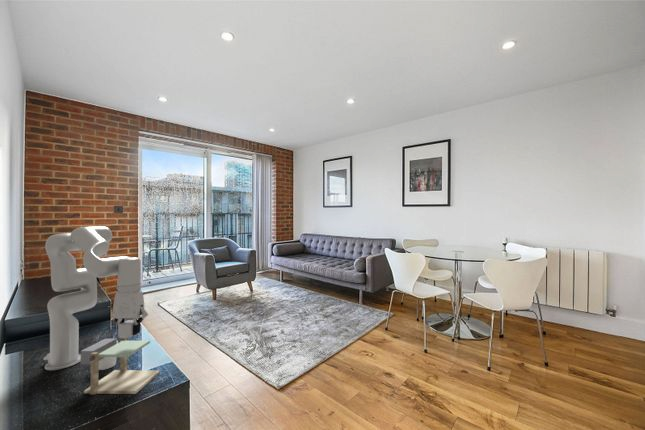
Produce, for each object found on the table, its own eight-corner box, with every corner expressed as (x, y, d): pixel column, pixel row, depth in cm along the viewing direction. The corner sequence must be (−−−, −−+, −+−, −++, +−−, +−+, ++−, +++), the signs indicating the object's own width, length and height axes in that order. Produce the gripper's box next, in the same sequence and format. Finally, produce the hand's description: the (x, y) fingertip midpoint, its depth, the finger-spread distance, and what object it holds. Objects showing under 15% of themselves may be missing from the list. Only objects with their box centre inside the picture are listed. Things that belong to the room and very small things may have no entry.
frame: (80, 395, 99) (81, 354, 100) (117, 370, 116) (117, 335, 116) (132, 396, 98) (132, 355, 99) (162, 371, 115) (162, 335, 116)
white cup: (121, 363, 122) (122, 341, 123) (102, 372, 115) (103, 348, 115) (110, 360, 125) (110, 338, 125) (90, 369, 118) (91, 346, 118)
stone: (118, 337, 105) (118, 324, 105) (128, 332, 110) (128, 320, 110) (130, 337, 105) (130, 324, 105) (139, 332, 110) (139, 319, 110)
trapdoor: (79, 364, 102) (79, 351, 102) (106, 349, 114) (106, 338, 114) (128, 365, 101) (128, 351, 101) (149, 350, 113) (150, 338, 113)
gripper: (101, 291, 105) (101, 337, 104) (143, 290, 104) (143, 337, 103) (116, 286, 112) (116, 330, 112) (156, 286, 111) (156, 330, 111)
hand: (129, 333), depth 108 cm, fingers closed on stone, 5 cm apart
